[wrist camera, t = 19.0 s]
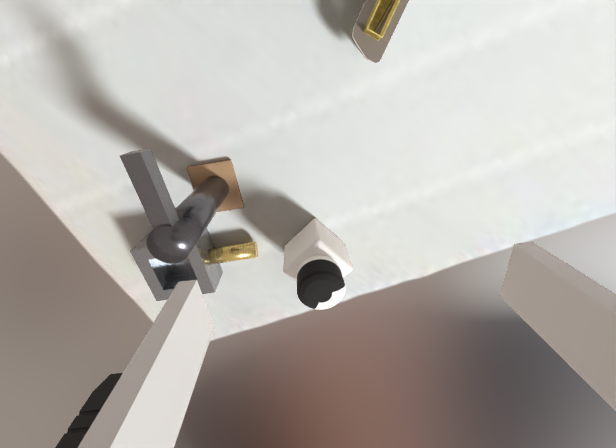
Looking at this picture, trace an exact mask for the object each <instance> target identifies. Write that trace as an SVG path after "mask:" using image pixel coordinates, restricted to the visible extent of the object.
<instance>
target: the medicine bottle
mask: <svg viewBox="0 0 616 448" xmlns="http://www.w3.org/2000/svg"><path fill="white" fill-rule="evenodd" d="M352 270H353V266H352V263H351V260H350V257H349V254H348V251H347V249H346V246H345V244H344V243H343V242H342V241H341V240H340V239H339V238H338V237H337V236H335V235H334V234H333V233H332V232H331V231H330V230H329V229H328V228H326V227H325V226H324V225H323V224H322V223H321V222H320V221H319V220H317V219H316V218H314V219H313V220H312V221H311V222H310V223H309V224H307V225H306V226H305V227H304V228H303V229H302V230H301V231H300V232H299V233H298V234H297V235H296V236H295V237H294V238H292V239H291V240H290V241H289V242H288V243H287V244H286V245H285V249H284V266H283V272H284V273H285V274H287V275H288V276H289V277H291V278H292V279H293V280H295V281H296V282H297V294H298V297H299V299H300V301H301V302H302V303H303V304H305V305H306V306H308V307H310V308H313V309H327V308H330V307H333V306H334V305H336V304H337V303H338V302H339V301H340V300H341V299H342V298H343V296H344V294H345V283H344V280H343V277H345V276H346V275H347V274H348V273H350V272H351V271H352Z"/></svg>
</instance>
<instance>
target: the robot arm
mask: <svg viewBox="0 0 616 448" xmlns="http://www.w3.org/2000/svg"><path fill="white" fill-rule="evenodd" d="M499 296H500V297H501V298H502V299H503V300H504V301H505V302H506V303H507V304H508V305H509V306H510V307H511V308H512V309H513V310H514V311H515V312H516V313H517V314H519V316H521V317H522V319H523V320H524V321H525V322H526V323H527V324H528V325H529V326H530V327H531V328H533V329H534V330H535V331H536V332H537V333H538V334H539V335H540V336H541V337H542V338H543V339H544V340H545V341H546V342H547V343H548V344H549V345H550V346H551V347H552V348H553V349H554V350H555V351H556V352H557V353H558V354H559V355H560V356H561V357H562V358H563V359H564V360H565V361H566V362H567V363H568V364H569V365H570V366H571V367H572V368H573V369H574V370H575V371H576V372H577V373H578V374H579V375H580V376H581V377H582V378H583V379H584V380H585V381H586V382H587V383H588V384H589V385H590V386H591V387H592V388H593V389H594V390H595V391H596V392H597V393H598V394H599V395H600V396H601V397H602V398H603V399H604V400H605V401H606V402H607V403H608V404H609V405H610V406H611V407H612V408H613V409H614V410H615V411H616V294H615V293H613V292H611V291H610V290H608V289H607V288H605V287H604V286H602V285H600V284H599V283H597V282H596V281H594V280H592V279H591V278H589V277H588V276H586V275H584V274H583V273H581V272H580V271H578V270H576V269H575V268H573V267H572V266H570V265H569V264H567V263H565V262H564V261H562V260H561V259H559V258H557V257H556V256H554V255H553V254H551V253H549V252H548V251H546V250H545V249H543V248H542V247H540V246H538V245H537V244H535V243H533V242H528V243H519V244H514V247H513V250H512V253H511V258H510V260H509V264H508V267H507V271H506V274H505V278H504V282H503V285H502V288H501V292H500V295H499ZM213 330H214V325H213V323H212V320H211V317H210V314H209V312H208V309H207V306H206V303H205V301H204V298H203V295H202V292H201V290H200V287H199V284H198V281H197V280H190V281H181V282H178V283H177V285H176V287H175V288H174V290H173V292H172V293H171V295H170V296H169V298H168V300H167V301H166V303H165V305H164V306H163V308H162V310H161V311H160V313H159V315H158V316H157V318H156V320H155V321H154V323H153V324H152V326H151V328H150V330H149V331H148V333H147V334H146V336H145V338H144V339H143V341H142V343H141V344H140V346H139V348H138V349H137V351H136V352H135V354H134V356H133V357H132V359H131V361H130V363H129V364H128V366H127V367H126V369H125V371H124V372H123V373H118V374H111V375H109V376H108V377H107V379H105V381H103V382H102V383H101V384H100V385H99V386H98V387H97V388H96V389H95V390H94V391H93V392H92V394H91V395H90V397H89V398H88V400H87V401H86V403H85V404H84V406H83V407H82V409H81V410H80V414H79V416H76V418H75V419H74V421H73V422H72V424H71V425H70V427H69V428H68V432H67V433H66V434H64V436H63V437H62V439H61V440H60V442H59V443H58V445H57V446H56V448H174V445H175V442H176V439H177V436H178V433H179V430H180V427H181V424H182V421H183V418H184V416H185V412H186V410H187V407H188V403H189V401H190V398H191V395H192V392H193V389H194V386H195V383H196V380H197V377H198V374H199V371H200V368H201V365H202V362H203V359H204V356H205V353H206V350H207V347H208V344H209V342H210V339H211V336H212V333H213Z"/></svg>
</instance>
